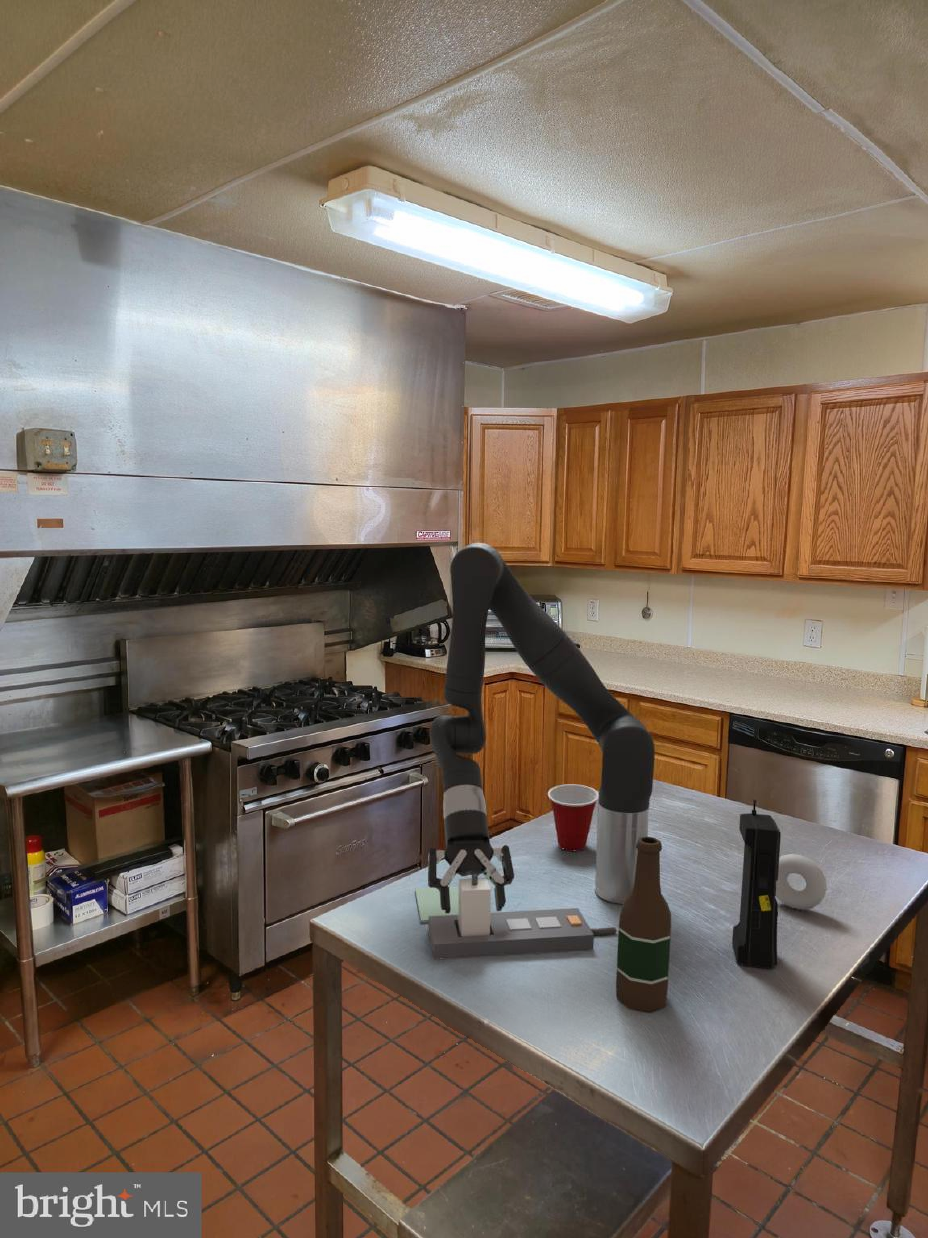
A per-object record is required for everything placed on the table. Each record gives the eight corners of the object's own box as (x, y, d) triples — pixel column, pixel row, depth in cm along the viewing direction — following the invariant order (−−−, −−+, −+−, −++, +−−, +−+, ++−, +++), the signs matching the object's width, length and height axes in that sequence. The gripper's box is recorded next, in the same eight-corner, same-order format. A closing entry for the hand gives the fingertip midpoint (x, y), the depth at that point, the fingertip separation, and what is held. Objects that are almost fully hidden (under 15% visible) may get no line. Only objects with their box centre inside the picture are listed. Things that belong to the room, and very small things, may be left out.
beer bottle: (608, 983, 118) (615, 829, 116) (658, 981, 119) (666, 829, 116) (622, 1015, 111) (630, 851, 108) (676, 1013, 111) (685, 850, 109)
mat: (478, 887, 149) (478, 885, 149) (489, 919, 137) (489, 916, 137) (415, 891, 147) (415, 888, 147) (421, 923, 135) (421, 920, 135)
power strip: (607, 920, 137) (608, 904, 137) (625, 947, 129) (626, 930, 128) (428, 930, 133) (428, 914, 132) (434, 959, 124) (434, 942, 124)
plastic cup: (537, 849, 167) (539, 794, 166) (558, 832, 176) (560, 780, 175) (584, 861, 161) (587, 804, 160) (604, 843, 170) (606, 790, 169)
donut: (826, 912, 142) (830, 859, 140) (822, 920, 139) (826, 866, 138) (769, 896, 147) (772, 845, 146) (763, 903, 145) (767, 851, 143)
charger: (485, 934, 132) (486, 869, 130) (489, 948, 128) (491, 880, 126) (457, 936, 131) (459, 870, 130) (461, 949, 127) (462, 881, 126)
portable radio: (779, 974, 122) (790, 818, 119) (738, 969, 123) (748, 815, 120) (770, 948, 129) (780, 801, 126) (731, 943, 130) (740, 797, 127)
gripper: (426, 809, 134) (432, 905, 124) (508, 806, 136) (520, 901, 126) (423, 827, 140) (428, 920, 130) (502, 824, 142) (513, 916, 132)
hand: (474, 911), depth 128 cm, fingers open, 8 cm apart
